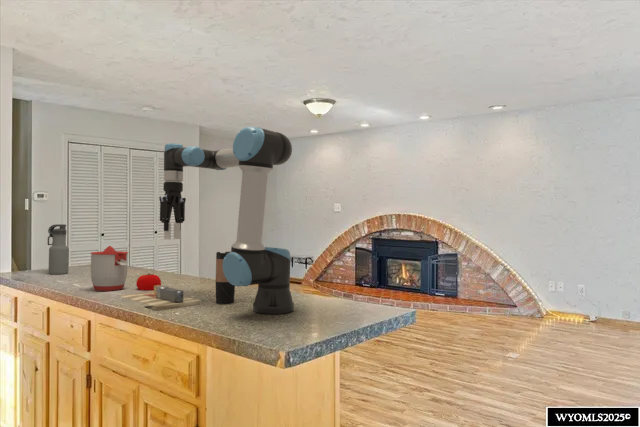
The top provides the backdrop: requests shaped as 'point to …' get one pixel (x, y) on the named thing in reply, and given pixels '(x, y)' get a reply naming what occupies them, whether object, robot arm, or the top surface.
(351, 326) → the top surface
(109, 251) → the citrus juicer
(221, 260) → the travel mug
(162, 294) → the bar
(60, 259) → the water bottle
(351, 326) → the top surface
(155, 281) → the tomato
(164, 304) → the striped wooden cutting board
